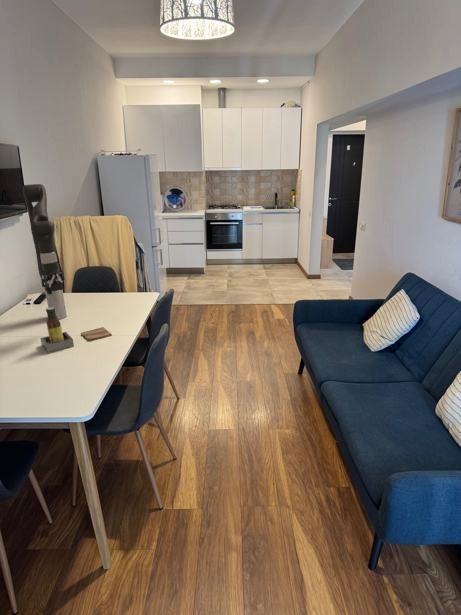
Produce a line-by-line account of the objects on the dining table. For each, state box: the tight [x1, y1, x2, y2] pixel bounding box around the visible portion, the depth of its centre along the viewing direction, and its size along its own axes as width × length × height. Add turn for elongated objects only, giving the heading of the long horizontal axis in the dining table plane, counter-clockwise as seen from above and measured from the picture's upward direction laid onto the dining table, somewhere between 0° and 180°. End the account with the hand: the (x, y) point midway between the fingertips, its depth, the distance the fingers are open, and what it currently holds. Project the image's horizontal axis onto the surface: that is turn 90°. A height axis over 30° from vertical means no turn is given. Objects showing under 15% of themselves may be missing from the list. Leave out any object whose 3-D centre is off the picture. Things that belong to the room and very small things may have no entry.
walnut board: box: [80, 326, 113, 342], centre depth 217 cm, size 12×12×1 cm
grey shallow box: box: [40, 331, 75, 354], centre depth 204 cm, size 11×12×4 cm
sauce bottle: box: [45, 307, 64, 343], centre depth 201 cm, size 7×6×20 cm
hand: (55, 292), depth 213 cm, fingers open, 8 cm apart
